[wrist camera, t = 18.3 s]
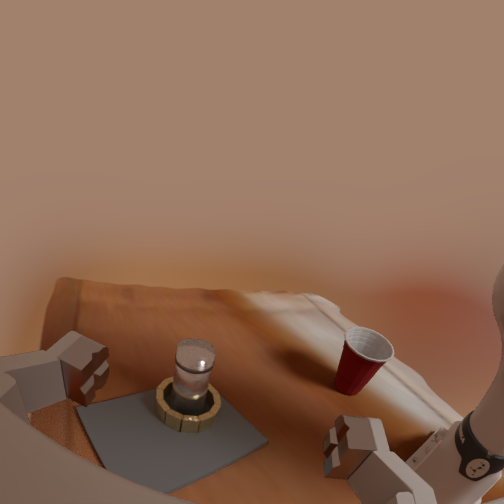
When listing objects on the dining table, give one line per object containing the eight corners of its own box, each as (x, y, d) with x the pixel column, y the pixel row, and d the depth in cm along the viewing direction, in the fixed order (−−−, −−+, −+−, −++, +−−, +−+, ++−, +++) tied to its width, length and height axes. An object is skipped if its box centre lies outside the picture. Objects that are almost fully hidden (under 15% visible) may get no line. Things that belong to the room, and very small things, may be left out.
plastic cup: (328, 403, 51) (354, 354, 48) (318, 368, 61) (339, 322, 58) (375, 406, 52) (403, 360, 48) (361, 374, 62) (384, 330, 59)
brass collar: (194, 382, 48) (196, 369, 47) (229, 419, 41) (233, 407, 41) (144, 397, 41) (145, 384, 40) (177, 441, 35) (179, 429, 34)
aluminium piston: (191, 394, 45) (201, 335, 41) (209, 415, 41) (223, 356, 38) (163, 402, 41) (169, 341, 38) (180, 425, 38) (190, 365, 34)
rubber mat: (200, 378, 50) (201, 374, 50) (266, 443, 39) (268, 439, 39) (76, 411, 34) (76, 407, 34) (129, 507, 23) (128, 505, 23)
